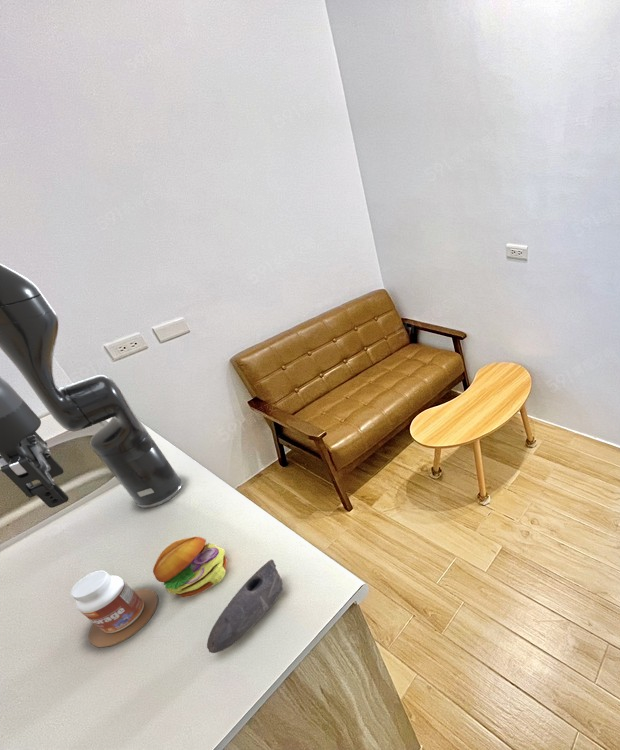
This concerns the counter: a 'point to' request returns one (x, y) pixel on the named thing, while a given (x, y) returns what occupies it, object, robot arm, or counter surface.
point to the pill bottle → (107, 601)
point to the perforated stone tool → (246, 607)
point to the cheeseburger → (190, 566)
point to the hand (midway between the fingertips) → (58, 488)
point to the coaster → (110, 639)
